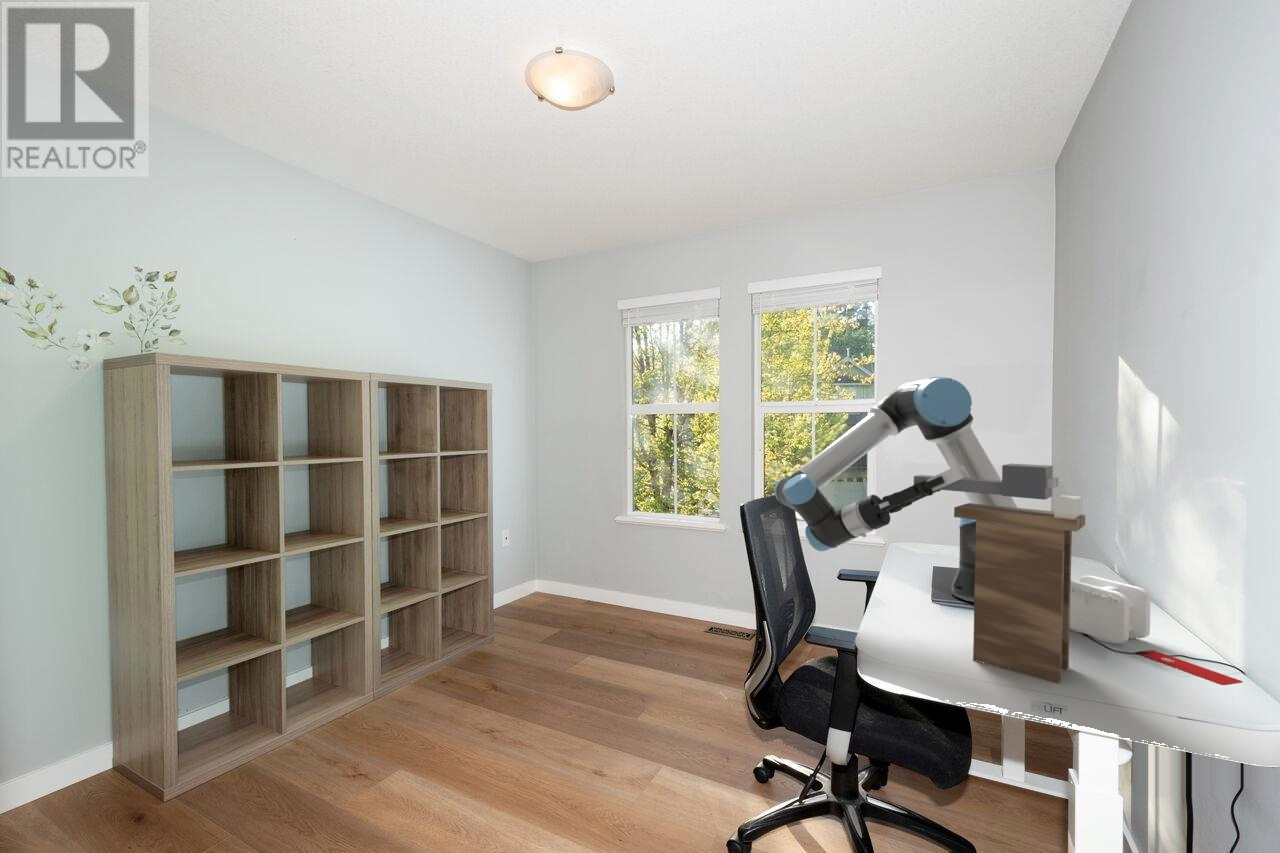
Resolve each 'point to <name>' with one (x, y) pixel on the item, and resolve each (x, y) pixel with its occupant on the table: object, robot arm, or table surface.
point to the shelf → (1022, 588)
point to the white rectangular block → (1067, 507)
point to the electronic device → (1189, 667)
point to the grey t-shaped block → (1009, 482)
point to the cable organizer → (1109, 609)
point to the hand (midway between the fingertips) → (962, 471)
